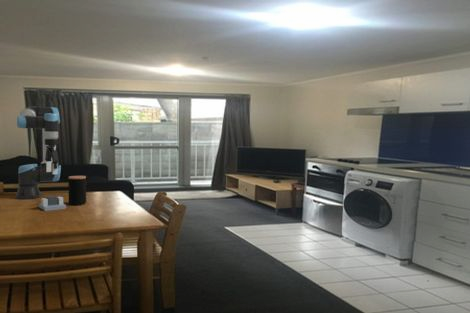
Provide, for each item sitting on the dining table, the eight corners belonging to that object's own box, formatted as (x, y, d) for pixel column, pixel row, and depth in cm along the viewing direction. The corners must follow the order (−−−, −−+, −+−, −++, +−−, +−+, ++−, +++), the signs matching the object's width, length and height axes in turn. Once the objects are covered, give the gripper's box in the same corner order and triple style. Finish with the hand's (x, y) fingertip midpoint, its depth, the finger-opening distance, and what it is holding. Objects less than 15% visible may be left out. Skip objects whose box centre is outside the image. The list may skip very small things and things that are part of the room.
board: (39, 206, 231) (38, 197, 231) (59, 204, 239) (59, 195, 239) (44, 210, 221) (44, 201, 220) (66, 208, 229) (66, 198, 228)
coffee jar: (89, 202, 247) (89, 176, 246) (81, 206, 237) (80, 178, 236) (74, 202, 248) (73, 175, 247) (65, 205, 238) (65, 177, 237)
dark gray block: (46, 204, 230) (46, 196, 229) (55, 203, 233) (55, 195, 232) (48, 205, 227) (48, 197, 226) (57, 204, 230) (57, 196, 229)
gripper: (39, 137, 234) (40, 171, 236) (50, 139, 215) (51, 175, 217) (52, 137, 239) (52, 170, 240) (64, 139, 220) (64, 174, 222)
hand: (51, 173), depth 229 cm, fingers open, 13 cm apart
